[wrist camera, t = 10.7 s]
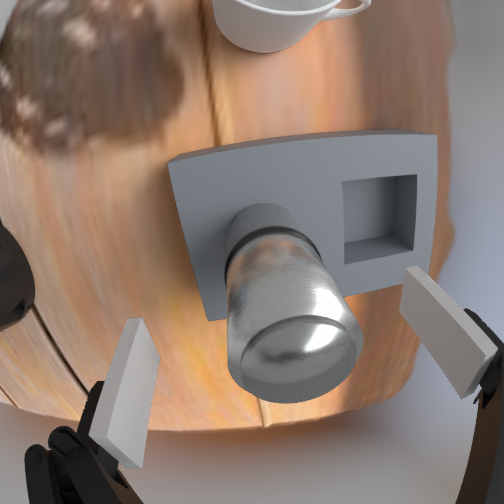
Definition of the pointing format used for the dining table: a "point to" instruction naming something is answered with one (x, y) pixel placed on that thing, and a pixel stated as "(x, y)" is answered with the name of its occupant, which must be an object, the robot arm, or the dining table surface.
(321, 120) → the dining table surface
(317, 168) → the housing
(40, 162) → the dining table surface
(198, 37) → the dining table surface
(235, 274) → the silver can
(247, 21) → the mug
